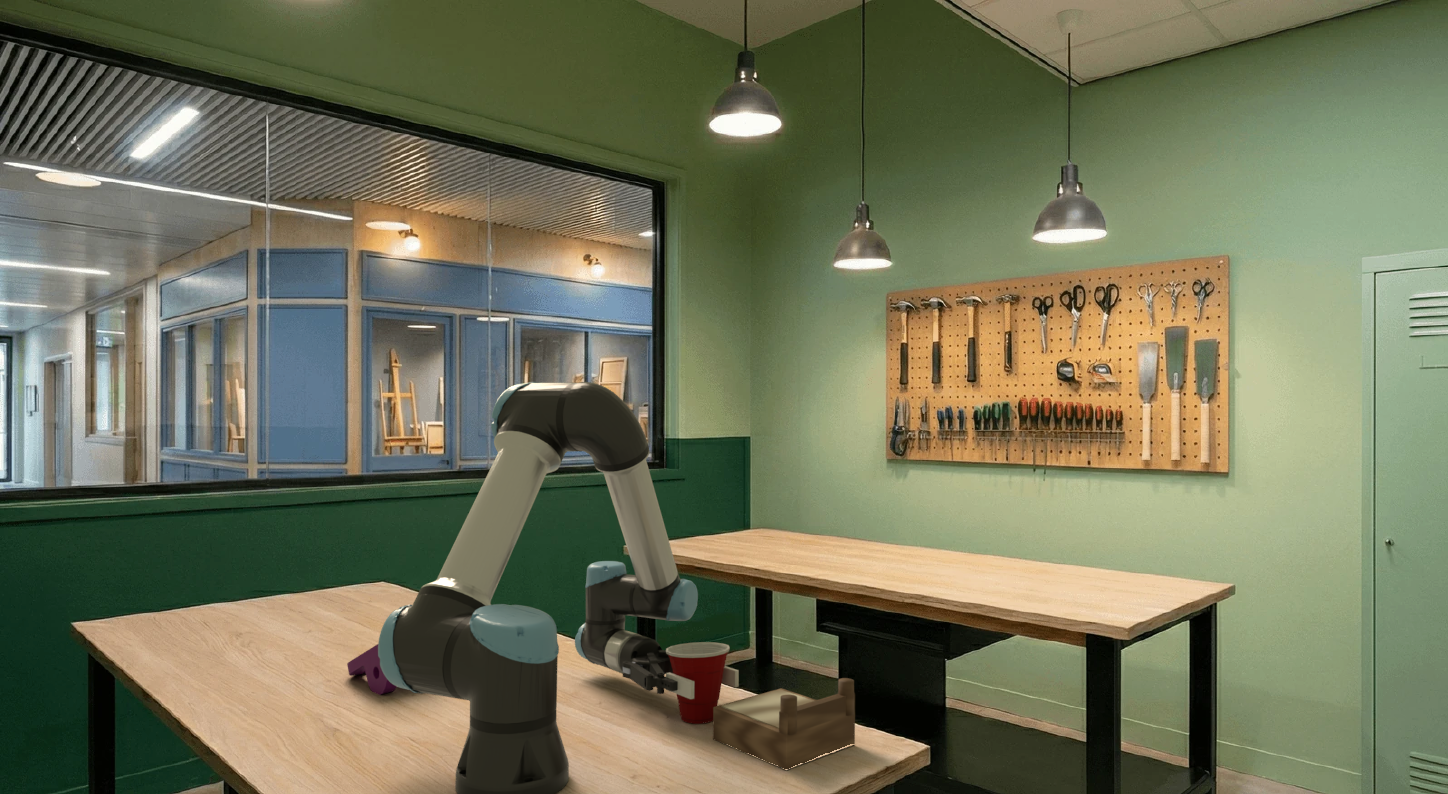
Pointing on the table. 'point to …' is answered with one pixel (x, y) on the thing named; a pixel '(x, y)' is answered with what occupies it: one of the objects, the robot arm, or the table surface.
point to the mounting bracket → (371, 671)
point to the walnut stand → (788, 724)
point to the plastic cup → (699, 677)
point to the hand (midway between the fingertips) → (715, 684)
